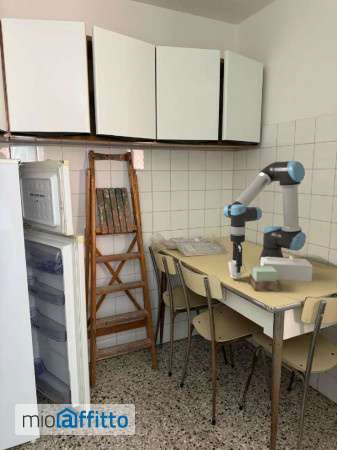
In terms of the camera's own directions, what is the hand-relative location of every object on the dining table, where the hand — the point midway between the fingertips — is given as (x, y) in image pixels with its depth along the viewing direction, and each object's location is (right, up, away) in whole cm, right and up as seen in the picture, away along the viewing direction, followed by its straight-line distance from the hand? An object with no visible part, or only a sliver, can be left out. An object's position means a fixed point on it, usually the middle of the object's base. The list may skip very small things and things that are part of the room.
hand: (236, 275), depth 167 cm
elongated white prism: (+29, -2, +8) cm, 30 cm away
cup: (0, -1, 0) cm, 1 cm away
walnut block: (+11, -4, -10) cm, 16 cm away
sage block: (+11, +1, -11) cm, 16 cm away
